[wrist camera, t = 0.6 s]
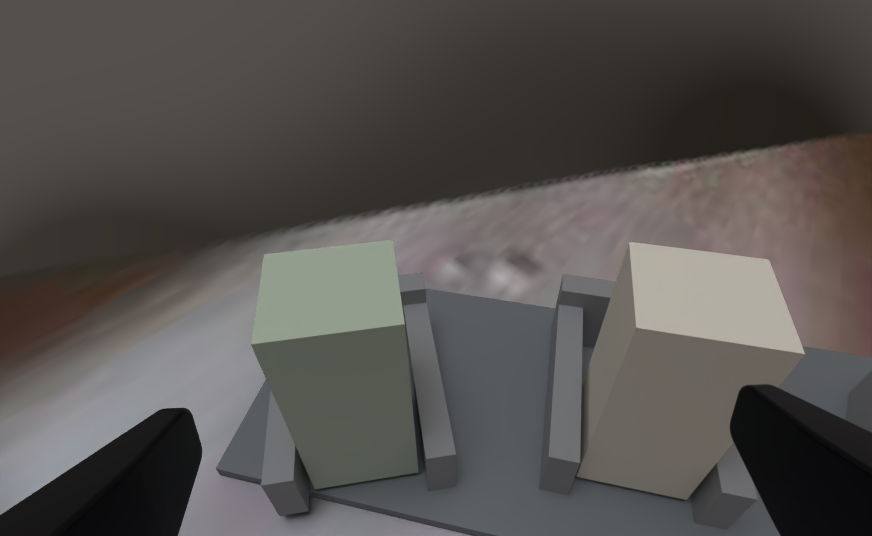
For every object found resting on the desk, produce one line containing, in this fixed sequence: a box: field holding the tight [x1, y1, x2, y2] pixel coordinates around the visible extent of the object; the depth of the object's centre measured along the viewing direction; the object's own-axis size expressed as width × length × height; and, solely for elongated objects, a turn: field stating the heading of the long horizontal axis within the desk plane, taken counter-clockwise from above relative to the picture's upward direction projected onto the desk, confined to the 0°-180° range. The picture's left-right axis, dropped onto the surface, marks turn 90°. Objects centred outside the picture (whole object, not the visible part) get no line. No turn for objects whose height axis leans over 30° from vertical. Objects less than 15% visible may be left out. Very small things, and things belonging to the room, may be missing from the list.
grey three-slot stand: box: [216, 273, 872, 536], centre depth 22 cm, size 14×36×5 cm, turn 77°
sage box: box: [251, 240, 419, 489], centre depth 19 cm, size 4×4×10 cm
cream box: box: [576, 242, 805, 500], centre depth 19 cm, size 4×4×10 cm
